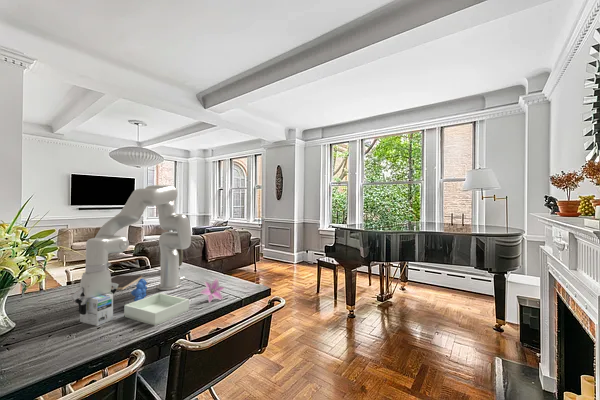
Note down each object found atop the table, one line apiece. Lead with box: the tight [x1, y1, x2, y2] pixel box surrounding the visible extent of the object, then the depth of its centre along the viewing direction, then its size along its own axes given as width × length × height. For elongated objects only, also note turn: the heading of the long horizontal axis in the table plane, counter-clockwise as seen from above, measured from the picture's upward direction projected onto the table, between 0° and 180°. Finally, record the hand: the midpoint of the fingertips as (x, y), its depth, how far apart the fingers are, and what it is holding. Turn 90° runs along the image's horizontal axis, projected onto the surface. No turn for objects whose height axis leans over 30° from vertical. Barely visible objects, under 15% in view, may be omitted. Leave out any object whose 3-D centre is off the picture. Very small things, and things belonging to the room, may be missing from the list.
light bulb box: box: [79, 294, 114, 327], centre depth 113 cm, size 11×7×11 cm, turn 71°
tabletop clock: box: [158, 249, 184, 271], centre depth 189 cm, size 14×9×25 cm, turn 123°
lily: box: [199, 276, 226, 303], centre depth 139 cm, size 12×12×10 cm
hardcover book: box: [111, 274, 144, 291], centre depth 162 cm, size 16×23×2 cm
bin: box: [123, 292, 190, 327], centre depth 121 cm, size 17×19×5 cm
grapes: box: [130, 278, 148, 302], centre depth 131 cm, size 12×7×12 cm, turn 14°
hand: (95, 309), depth 112 cm, fingers open, 9 cm apart
